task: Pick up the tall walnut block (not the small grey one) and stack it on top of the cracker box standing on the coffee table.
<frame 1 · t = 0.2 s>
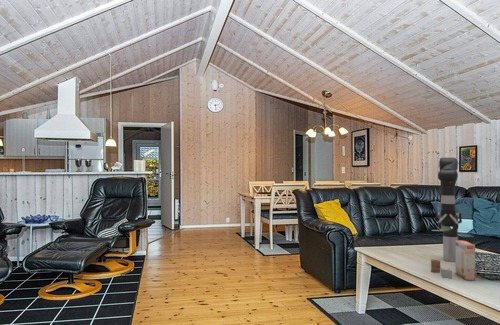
hand: (448, 229, 217), 29 cm above the table, fingers open, 8 cm apart
cracker box: (465, 277, 215), on the table
grey block: (446, 277, 215), on the table
walnut block: (435, 271, 227), on the table
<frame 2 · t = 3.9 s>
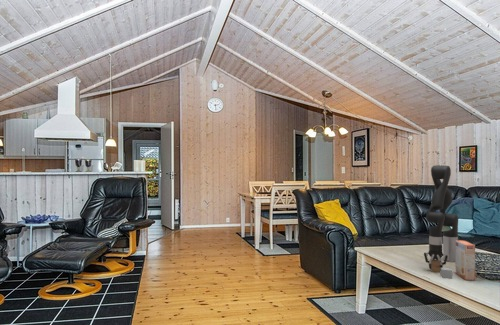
hand: (435, 269, 227), 1 cm above the table, fingers closed on walnut block, 5 cm apart
walnut block: (435, 271, 227), on the table, touching gripper
everything else where it was.
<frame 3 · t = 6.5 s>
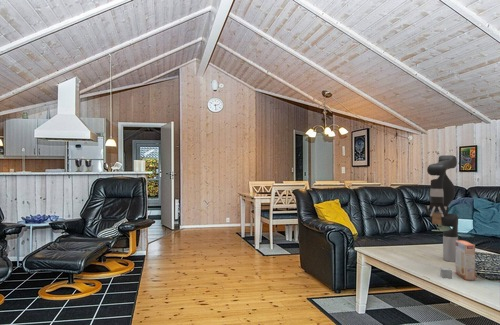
hand: (436, 222, 227), 31 cm above the table, fingers closed on walnut block, 5 cm apart
walnut block: (436, 223, 226), point 30 cm above the table, touching gripper
everything else where it was.
when the fingers open (23 cm above the table, at t = 9.5 s): walnut block stays where it is, resting on cracker box.
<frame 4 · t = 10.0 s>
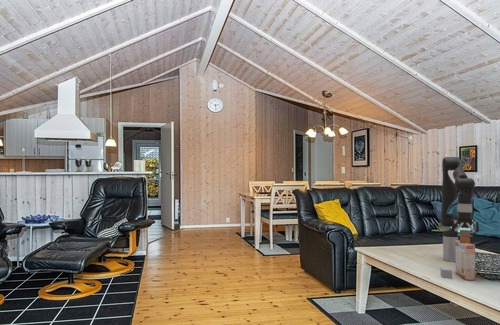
hand: (465, 237, 216), 24 cm above the table, fingers open, 8 cm apart
cracker box: (465, 277, 215), on the table, touching walnut block
walnut block: (465, 242, 216), point 21 cm above the table, touching cracker box
everything else where it was.
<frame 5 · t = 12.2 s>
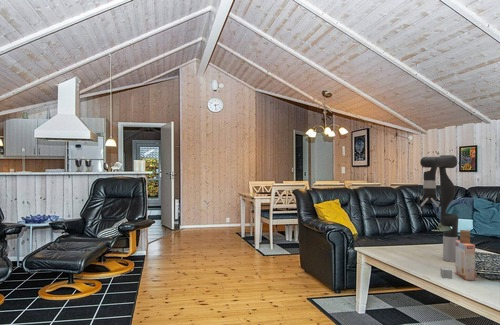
hand: (429, 212, 231), 37 cm above the table, fingers open, 8 cm apart
nothing on the table moved.
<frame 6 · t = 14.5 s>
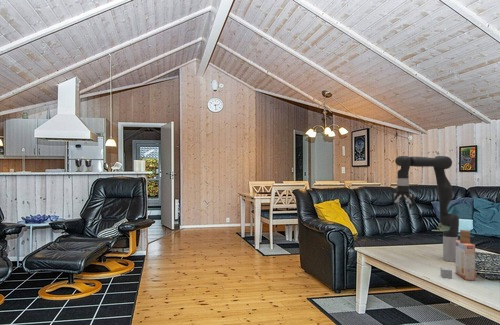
hand: (403, 208, 244), 38 cm above the table, fingers open, 8 cm apart
nothing on the table moved.
at the end: walnut block inside the target area on the cracker box (0.1 cm from its centre), point 21.1 cm above the cracker box's base; walnut block tilted 0°; cracker box tilted 0° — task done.
